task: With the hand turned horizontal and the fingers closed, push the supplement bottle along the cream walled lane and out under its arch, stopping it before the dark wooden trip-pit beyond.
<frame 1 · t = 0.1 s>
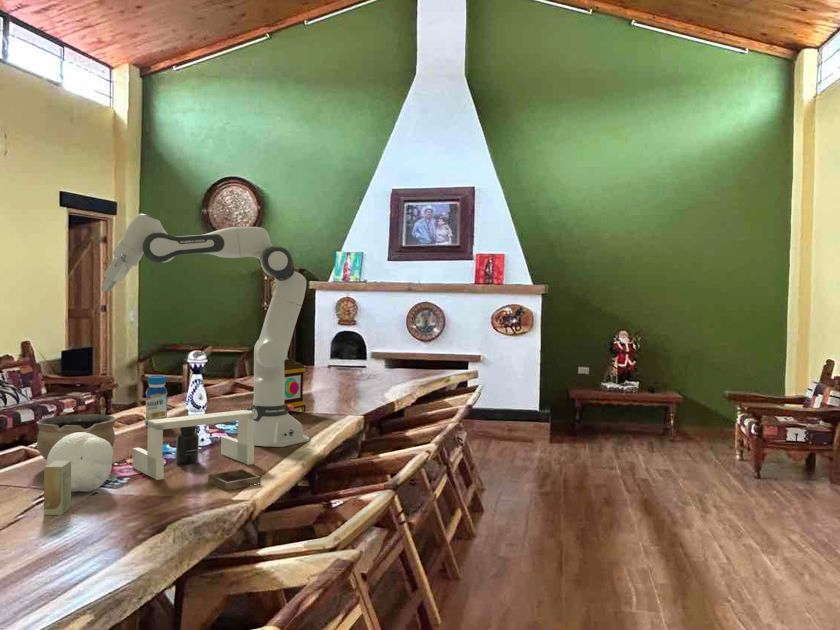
hand: (105, 290, 247), 54 cm above the table, tool tilted 30°, fingers open, 8 cm apart
ceramic bowl: (76, 467, 223), on the table
skincare box: (57, 512, 180), on the table
arch lane: (194, 465, 228), on the table
beverage bottle: (156, 426, 287), on the table
decorative lantern: (278, 413, 325), on the table
supplement bottle: (187, 463, 232), on the table
decorative orb: (82, 491, 198), on the table
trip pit: (234, 483, 210), on the table
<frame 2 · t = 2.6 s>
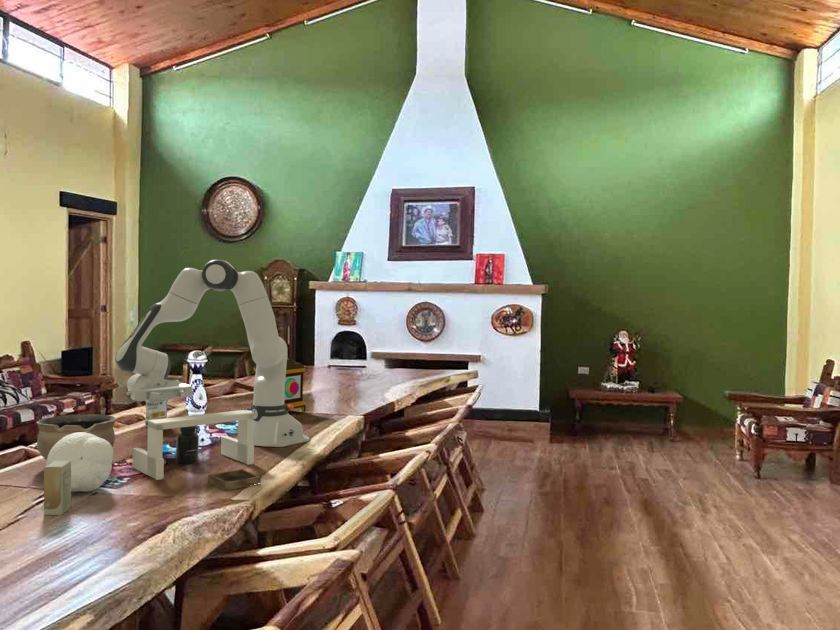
hand: (171, 395, 240), 20 cm above the table, tool horizontal, fingers open, 6 cm apart
nothing on the table moved.
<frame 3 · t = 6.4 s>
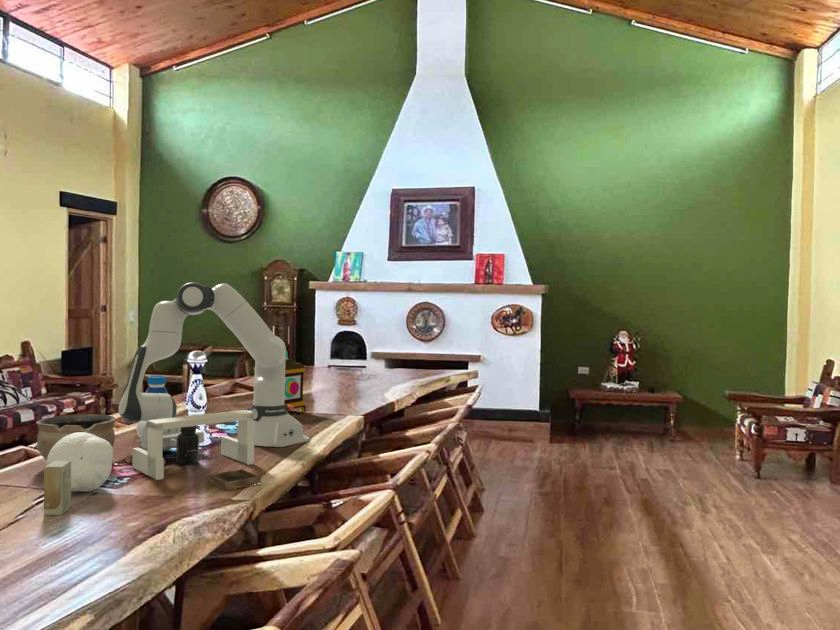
hand: (183, 443, 234), 6 cm above the table, tool horizontal, fingers closed, pressing on supplement bottle
supplement bottle: (187, 463, 232), on the table, touching gripper
everything else where it was.
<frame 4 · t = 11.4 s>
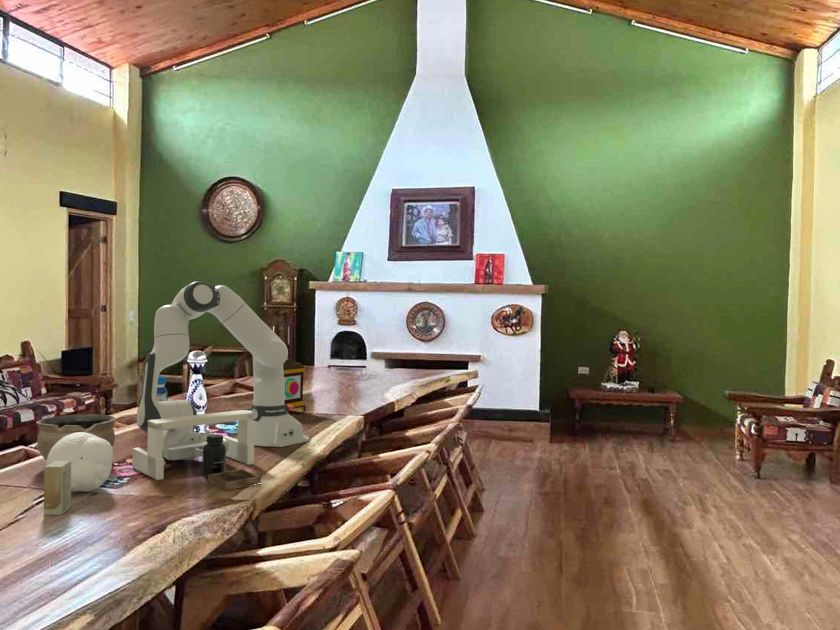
hand: (208, 453, 222), 5 cm above the table, tool horizontal, fingers closed
supplement bottle: (213, 475, 218), on the table
everything else where it was.
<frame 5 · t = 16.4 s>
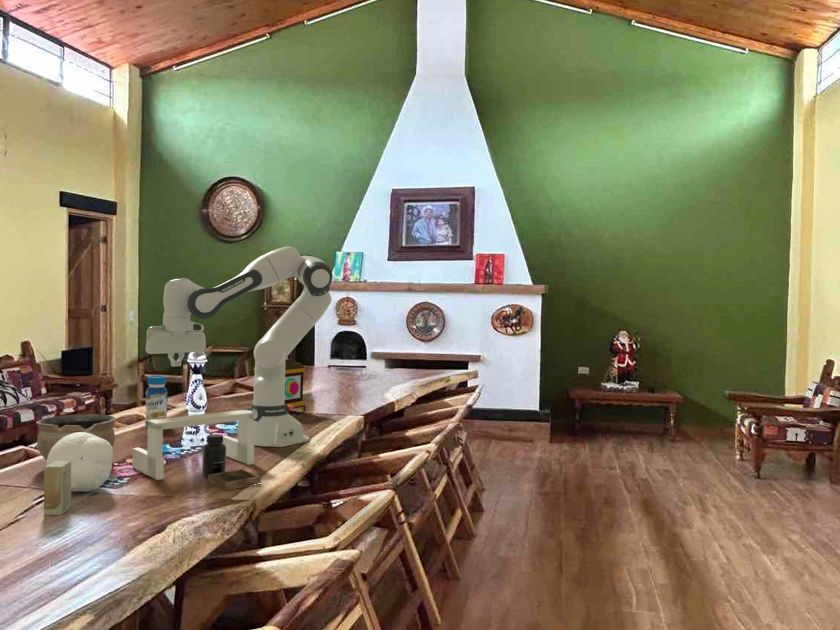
hand: (176, 366, 246), 29 cm above the table, tool pointing down, fingers closed
nothing on the table moved.
at the end: supplement bottle inside the target area (1.1 cm from its centre), on the table; supplement bottle tilted 0°; supplement bottle touching table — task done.
